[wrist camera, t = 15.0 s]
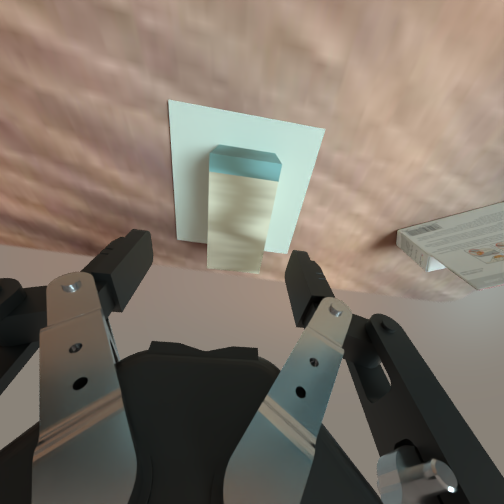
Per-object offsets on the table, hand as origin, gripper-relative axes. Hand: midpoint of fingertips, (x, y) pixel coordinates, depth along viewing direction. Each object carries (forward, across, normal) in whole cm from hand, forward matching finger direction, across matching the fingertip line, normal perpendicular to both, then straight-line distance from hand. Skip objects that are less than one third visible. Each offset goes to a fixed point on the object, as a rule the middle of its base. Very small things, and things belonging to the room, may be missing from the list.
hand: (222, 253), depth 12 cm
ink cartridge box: (+10, -24, -1) cm, 26 cm away
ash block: (+8, -1, +6) cm, 10 cm away
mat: (+11, -1, 0) cm, 11 cm away
